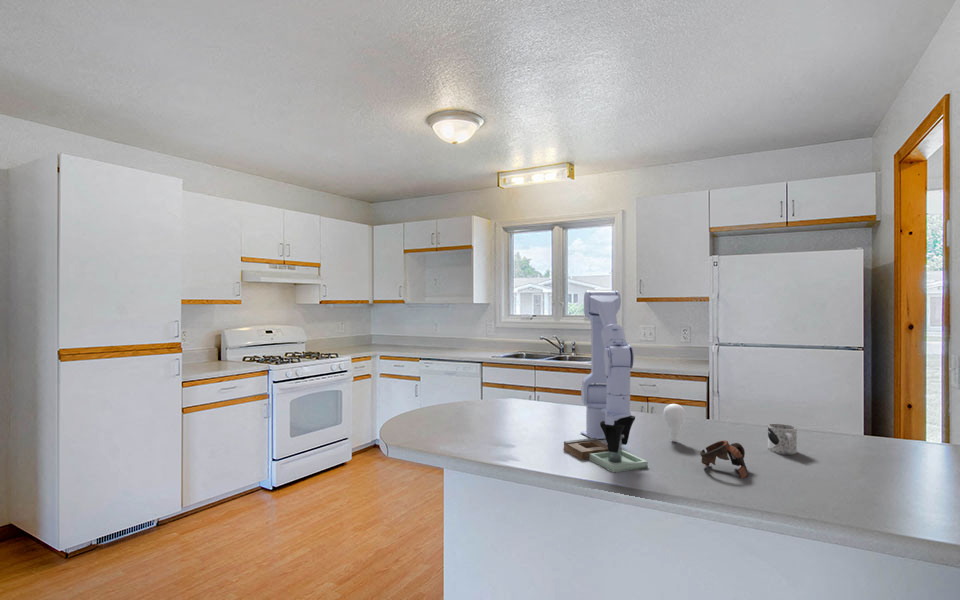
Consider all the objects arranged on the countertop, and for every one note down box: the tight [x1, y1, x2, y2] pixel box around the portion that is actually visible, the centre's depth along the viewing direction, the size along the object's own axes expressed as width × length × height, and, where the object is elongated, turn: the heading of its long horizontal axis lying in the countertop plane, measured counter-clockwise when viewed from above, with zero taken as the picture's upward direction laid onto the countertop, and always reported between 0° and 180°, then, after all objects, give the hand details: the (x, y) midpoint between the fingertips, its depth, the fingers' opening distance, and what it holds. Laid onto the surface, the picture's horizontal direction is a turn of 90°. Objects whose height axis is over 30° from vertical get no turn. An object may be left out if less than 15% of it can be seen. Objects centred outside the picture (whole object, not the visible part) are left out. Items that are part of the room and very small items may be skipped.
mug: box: [767, 423, 798, 456], centre depth 131 cm, size 10×7×7 cm
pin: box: [608, 433, 624, 463], centre depth 123 cm, size 4×4×7 cm
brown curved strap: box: [699, 440, 749, 479], centre depth 118 cm, size 12×10×8 cm
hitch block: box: [563, 437, 608, 461], centre depth 131 cm, size 10×9×2 cm
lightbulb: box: [663, 403, 687, 443], centre depth 141 cm, size 6×6×11 cm
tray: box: [589, 449, 649, 473], centre depth 122 cm, size 10×10×2 cm
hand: (618, 447), depth 122 cm, fingers open, 7 cm apart
